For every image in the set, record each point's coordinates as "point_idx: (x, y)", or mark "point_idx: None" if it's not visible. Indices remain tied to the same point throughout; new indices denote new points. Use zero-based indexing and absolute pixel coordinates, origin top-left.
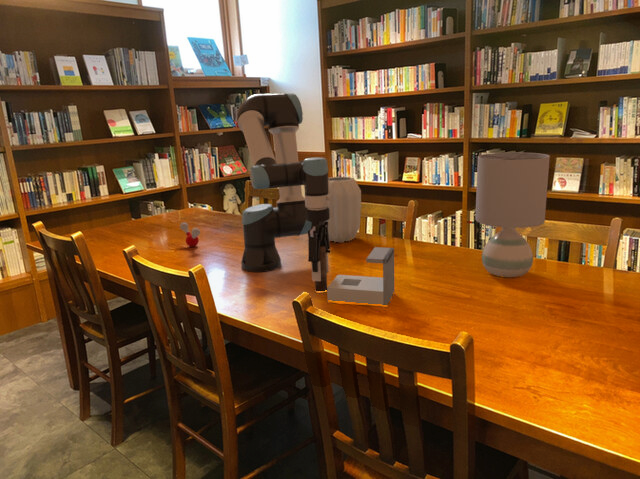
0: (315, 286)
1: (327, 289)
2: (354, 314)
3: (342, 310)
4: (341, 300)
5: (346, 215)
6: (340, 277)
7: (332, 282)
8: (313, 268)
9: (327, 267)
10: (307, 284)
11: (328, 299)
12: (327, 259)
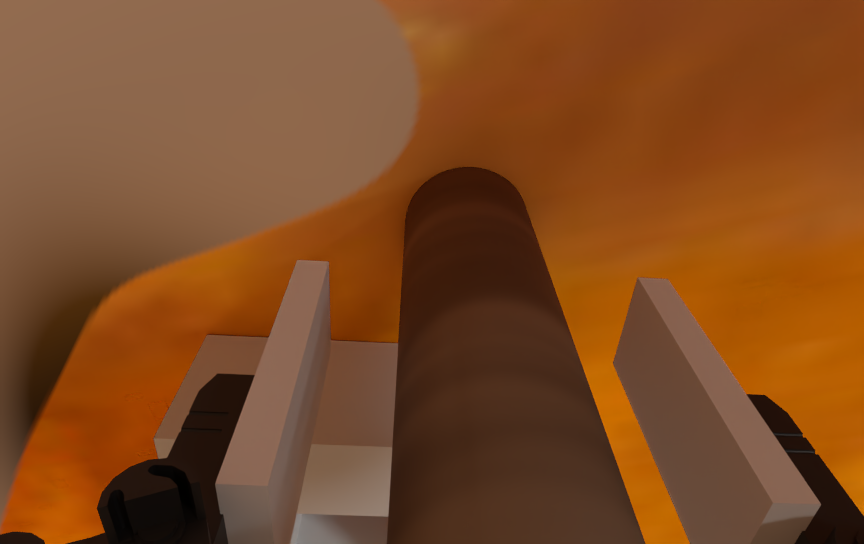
0: (428, 208)
1: (162, 424)
2: (83, 509)
3: (110, 445)
4: None
5: None
6: None
7: (314, 451)
8: (189, 432)
9: (634, 412)
10: (674, 19)
11: (198, 359)
12: (683, 512)
